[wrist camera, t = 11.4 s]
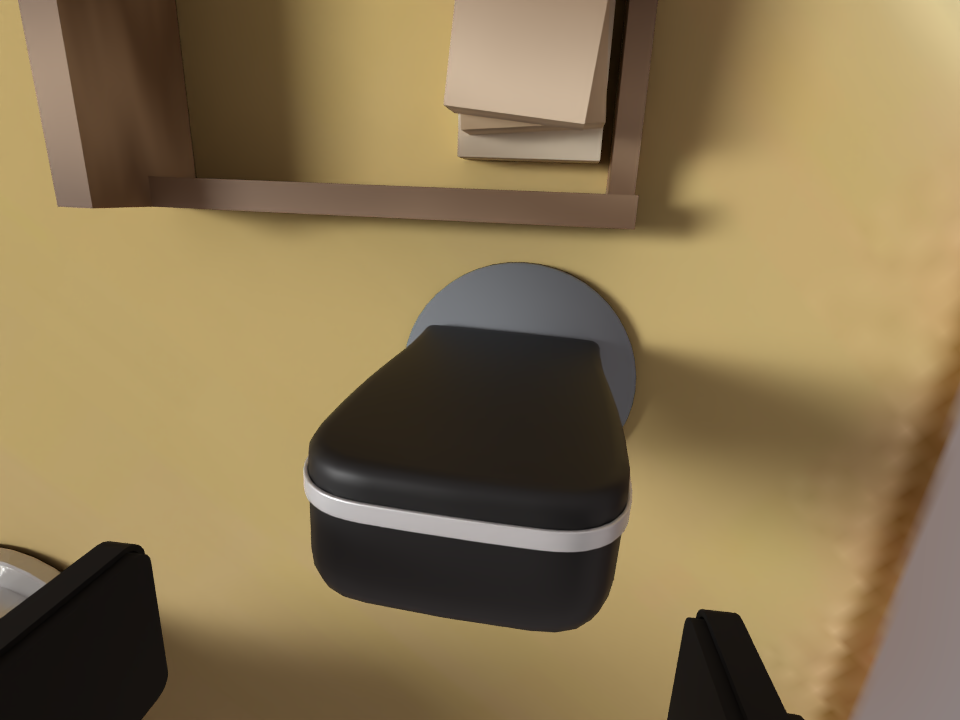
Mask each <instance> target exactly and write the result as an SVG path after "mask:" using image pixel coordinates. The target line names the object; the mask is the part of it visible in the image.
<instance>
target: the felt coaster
mask: <svg viewBox="0 0 960 720" xmlns="http://www.w3.org/2000/svg"><path fill="white" fill-rule="evenodd" d="M430 325H443V326H454V327H465V328H475V329H485V330H496V331H506V332H516V333H525V334H535V335H545V336H554V337H563V338H573V339H582V340H590V341H594V342H596V343H597V344H598V345H599V348H600V358H601V362H602V368H603V371H604V375H605V377H606V380H607V382H608V384H609V387H610V390H611V392H612V395H613V398H614V401H615V404H616V406H617V409H618V412H619V416H620V420H621V423H622V427H623V426H624V424H625V422H626V420H627V418H628V415H629V413H630V410H631V407H632V403H633V399H634V394H635V385H636V369H635V360H634V355H633V351H632V346H631V344H630V341H629V338H628V336H627V333H626V331H625V329H624V327H623V325H622V323H621V321H620V320H619V318H618V316H617V315H616V313H615V312H614V311H613V309H612V308H611V307H610V305H609V304H608V303H607V302H606V301H605V300H604V299H603V298H602V297H601V296H600V295H599V294H598V293H597V292H596V291H595V290H594V289H592V288H591V287H590V286H588V285H587V284H586V283H584V282H583V281H581V280H579V279H578V278H576V277H574V276H572V275H571V274H568V273H566V272H563V271H561V270H558V269H556V268H553V267H549V266H545V265H541V264H534V263H526V262H507V263H500V264H493V265H490V266H486V267H482V268H479V269H476V270H474V271H472V272H469V273H467V274H465V275H463V276H461V277H459V278H458V279H456V280H455V281H453V282H451V283H450V284H449V285H447V286H446V287H445V288H444V289H442V290H441V291H440V292H439V293H437V294H436V295H435V297H434V298H433V299H432V300H431V301H430V302H429V303H428V304H427V305H426V307H425V308H424V310H423V311H422V312H421V314H420V315H419V317H418V319H417V321H416V323H415V325H414V326H413V328H412V331H411V334H410V337H409V339H408V342H407V347H408V346H409V345H410V344H411V343H412V342H413V341H414V340H415V339H416V338H417V337H418V336H419V335H420V334H421V333H422V332H423V331H424V330H425V329H426V328H427V327H428V326H430ZM407 347H406V348H407Z"/></svg>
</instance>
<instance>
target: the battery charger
mask: <svg viewBox="0 0 960 720" xmlns="http://www.w3.org/2000/svg"><path fill="white" fill-rule="evenodd" d="M303 474H304V489H305V494H306V496H307V499H308V500H309V501H310V521H311V547H312V553H313V559H314V564H315V566H316V568H317V570H318V571H319V573H320V575H321V577H322V578H323V580H324V581H325V582H326V584H327V585H328V586H329V587H330V588H331V589H333V590H335V591H336V592H338V593H339V594H341V595H342V596H345V597H348V598H352V599H355V600H359V601H362V602H365V603H371V604H376V605H381V606H386V607H391V608H397V609H402V610H407V611H412V612H417V613H423V614H428V615H433V616H438V617H444V618H450V619H456V620H463V621H469V622H476V623H482V624H489V625H496V626H502V627H509V628H516V629H522V630H529V631H543V632H561V631H566V630H572V629H577V628H578V627H580V626H581V625H583V624H585V623H586V622H588V621H590V620H591V619H592V618H593V617H594V616H595V615H596V614H597V613H598V612H599V610H600V609H601V607H602V605H603V604H604V602H605V601H606V599H607V597H608V595H609V592H610V589H611V586H612V583H613V580H614V574H615V569H616V563H617V557H618V551H619V545H620V539H621V534H622V533H623V532H624V530H625V528H626V526H627V524H628V520H629V514H630V509H631V503H632V485H631V478H630V466H629V459H628V453H627V447H626V441H625V436H624V432H623V427H622V423H621V420H620V416H619V412H618V409H617V406H616V404H615V401H614V398H613V395H612V392H611V390H610V387H609V384H608V382H607V380H606V377H605V375H604V371H603V368H602V362H601V358H600V348H599V345H598V344H597V343H596V342H594V341H590V340H582V339H573V338H563V337H554V336H545V335H535V334H525V333H516V332H506V331H496V330H485V329H475V328H465V327H454V326H443V325H430V326H428V327H427V328H426V329H425V330H424V331H423V332H422V333H421V334H420V335H419V336H418V337H417V338H416V339H415V340H414V341H413V342H412V343H411V344H410V345H409V346H408V347H407V348H406V349H404V350H403V351H402V352H400V353H399V354H398V355H396V356H395V357H394V358H393V359H391V360H390V361H389V362H388V363H386V364H385V365H384V366H383V367H381V368H380V369H379V370H378V371H377V372H375V373H374V374H373V375H372V376H370V377H369V378H368V379H367V380H366V381H365V382H364V383H362V384H361V385H360V386H359V387H358V388H357V389H356V390H355V391H354V392H353V393H352V394H351V395H350V396H348V397H347V398H346V399H345V400H344V401H343V402H342V403H341V404H340V405H339V406H338V407H337V408H336V409H335V410H334V411H333V412H332V413H331V414H330V416H329V417H328V418H327V419H326V420H325V421H324V422H323V423H322V424H321V425H320V427H319V428H318V430H317V431H316V433H315V434H314V436H313V437H312V439H311V441H310V444H309V455H308V457H307V459H306V461H305V464H304V468H303Z"/></svg>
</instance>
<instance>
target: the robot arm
mask: <svg viewBox="0 0 960 720" xmlns="http://www.w3.org/2000/svg"><path fill="white" fill-rule="evenodd" d="M167 677H168V669H167V663H166V656H165V650H164V643H163V637H162V630H161V624H160V617H159V611H158V604H157V597H156V591H155V584H154V578H153V571H152V565H151V560H150V557H149V556H148V555H146V554H145V553H144V549H143V548H142V547H141V546H139V545H136V544H128V543H119V542H111V541H107V542H102V543H101V544H99V545H97V546H96V547H94V548H93V549H92V550H90V551H89V552H88V553H86V554H85V555H84V556H82V557H81V558H80V559H79V560H77V561H76V562H75V563H73V564H72V565H71V566H69V567H68V568H67V569H65V570H64V571H63V572H60V571H58V570H57V569H55V568H54V567H52V566H50V565H48V564H46V563H44V562H42V561H40V560H38V559H37V558H34V557H32V556H29V555H26V554H23V553H21V552H18V551H15V550H10V549H5V548H0V720H141V719H142V718H143V717H144V716H145V714H146V713H147V712H148V710H149V709H150V708H151V707H152V705H153V704H154V703H155V702H156V700H157V699H158V698H159V696H160V695H161V693H162V692H163V689H164V687H165V685H166V682H167ZM667 720H804V719H803V718H802V717H801V716H800V715H795V714H789V713H786V710H785V708H784V706H783V704H782V702H781V700H780V698H779V696H778V694H777V692H776V690H775V687H774V685H773V683H772V681H771V679H770V677H769V675H768V673H767V671H766V669H765V667H764V664H763V662H762V660H761V658H760V656H759V654H758V652H757V650H756V648H755V646H754V644H753V641H752V639H751V637H750V635H749V633H748V631H747V629H746V627H745V625H744V623H743V621H742V619H741V617H740V616H739V615H738V614H737V613H731V612H722V611H713V610H704V609H701V610H699V611H698V613H697V616H696V618H689V617H688V618H687V619H686V620H685V624H684V629H683V635H682V640H681V646H680V651H679V657H678V662H677V668H676V674H675V679H674V685H673V690H672V696H671V701H670V707H669V712H668V718H667Z"/></svg>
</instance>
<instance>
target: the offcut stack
mask: <svg viewBox="0 0 960 720" xmlns="http://www.w3.org/2000/svg"><path fill="white" fill-rule="evenodd" d="M615 2H616V0H455V5H454V14H453V23H452V33H451V42H450V51H449V60H448V69H447V78H446V87H445V96H444V106H446V107H447V108H448V109H450V110H451V111H453V112H454V113H458V157H460V158H463V159H470V160H502V161H534V162H565V163H598V162H599V161H600V154H601V144H602V134H603V126H604V124H605V122H606V94H607V83H608V73H609V63H610V53H611V43H612V32H613V22H614V12H615Z"/></svg>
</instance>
